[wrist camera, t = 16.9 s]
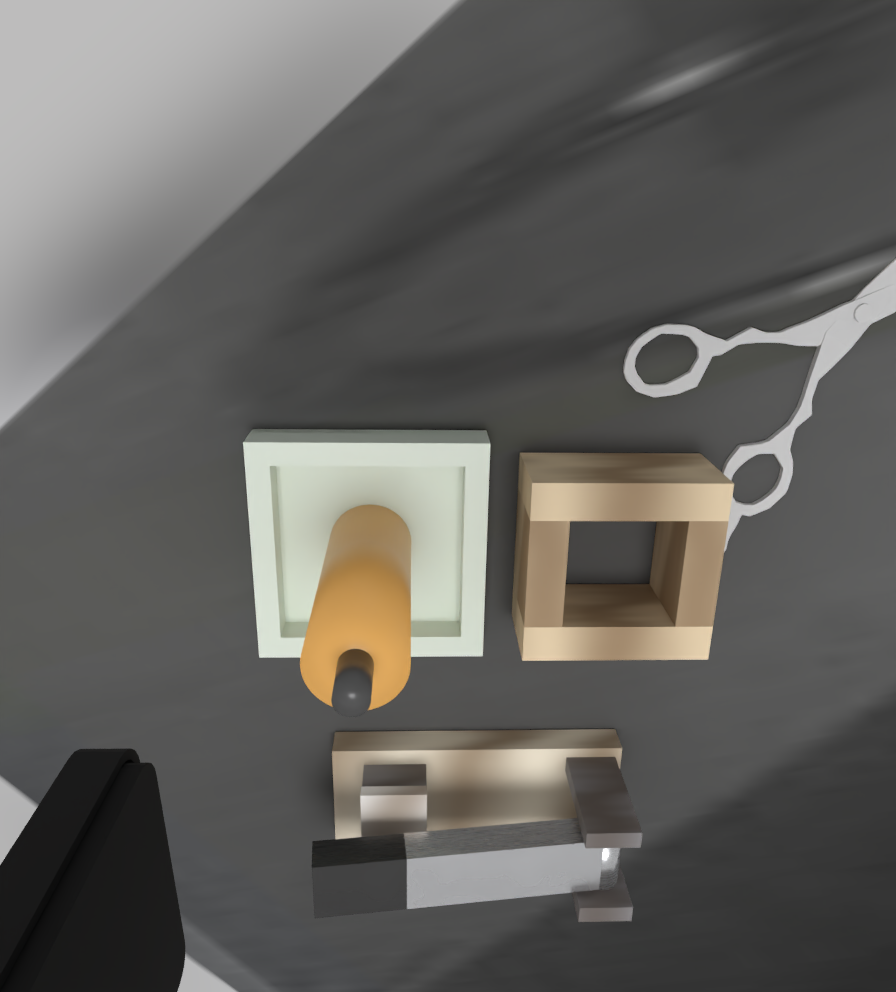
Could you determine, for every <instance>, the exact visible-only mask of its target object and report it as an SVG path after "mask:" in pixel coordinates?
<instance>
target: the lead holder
mask: <svg viewBox="0 0 896 992" xmlns="http://www.w3.org/2000/svg"><path fill="white" fill-rule="evenodd" d="M733 488H734V483H733V482H732V481H731V480H730V479H728V478H727V477H726V476H725V475H724V474H723V473H722V472H721V471H719V470H718V469H717V468H716V467H715V466H714V465H713V464H712V463H711V462H709V461H708V460H707V459H706V458H705V457H704V456H703V455H702V454H701V453H520V459H519V479H518V499H517V519H516V539H515V559H514V580H513V600H512V618H513V622H514V627H515V631H516V635H517V640H518V644H519V648H520V653H521V657H522V661H550V660H708V656H709V649H710V643H711V636H712V629H713V622H714V616H715V609H716V602H717V595H718V589H719V582H720V575H721V569H722V562H723V555H724V548H725V542H726V535H727V528H728V522H729V515H730V508H731V501H732V495H733ZM570 521H657V523H656V532H655V540H654V549H653V558H652V566H651V575H650V584H566V570H567V557H568V544H569V530H570Z"/></svg>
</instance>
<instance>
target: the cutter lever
mask: <svg viewBox="0 0 896 992" xmlns="http://www.w3.org/2000/svg"><path fill="white" fill-rule="evenodd" d="M620 852H621V848H585V845H584V841H583V837H582V833H581V829H580V826H579V822H578V818H572V819H560V820H549V821H538V822H526V823H515V824H504V825H492V826H481V827H470V828H458V829H447V830H436V831H424V832H413V833H402V834H391V835H379V836H368V837H357V838H345V839H334V840H323V841H313V846H312V879H313V897H314V916H315V918H323V917H333V916H343V915H353V914H363V913H373V912H382V911H392V910H402V909H412V908H422V907H432V906H442V905H452V904H462V903H471V902H481V901H491V900H501V899H511V898H521V897H531V896H541V895H551V894H561V893H570V892H580V891H590V890H608V889H610V888H612V887H614V886H615V885H616V883H617V878H618V869H619V860H620Z"/></svg>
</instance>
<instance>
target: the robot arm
mask: <svg viewBox="0 0 896 992" xmlns="http://www.w3.org/2000/svg"><path fill="white" fill-rule="evenodd" d="M184 960H185V939H184V933H183V928H182V922H181V916H180V910H179V904H178V898H177V893H176V887H175V881H174V875H173V869H172V863H171V858H170V852H169V846H168V840H167V834H166V828H165V823H164V817H163V811H162V805H161V799H160V793H159V788H158V782H157V776H156V771H155V768H154V766H153V765H152V763H140V760H139V757H138V754H137V753H136V751H135V750H133V749H79V750H77V751H75V752H74V753H73V754H72V755H71V757H70V758H69V759H68V761H67V762H66V764H65V765H64V767H63V768H62V770H61V772H60V773H59V775H58V776H57V778H56V779H55V781H54V782H53V784H52V786H51V787H50V789H49V790H48V792H47V793H46V795H45V796H44V798H43V800H42V801H41V803H40V804H39V806H38V807H37V809H36V811H35V812H34V814H33V815H32V817H31V818H30V820H29V822H28V823H27V825H26V826H25V828H24V829H23V831H22V832H21V834H20V836H19V837H18V839H17V840H16V842H15V843H14V845H13V846H12V848H11V849H10V851H9V853H8V854H7V856H6V857H5V859H4V861H3V862H2V864H1V865H0V992H177V991H178V987H179V984H180V981H181V977H182V972H183V968H184Z"/></svg>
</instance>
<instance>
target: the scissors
mask: <svg viewBox="0 0 896 992" xmlns="http://www.w3.org/2000/svg"><path fill="white" fill-rule="evenodd" d="M894 312H896V258H895V259H894V260H893V261H892V262H890V263H889V264H888V265H887V266H886V267H885V268H884V269H883V270H882V271H881V272H880V273H879V274H878V275H877V276H876V277H875V278H874V279H872V280H871V281H870V282H869V283H868V284H867V285H866V286H865V287H864V288H863V289H862V290H861V291H860V292H859V293H858V294H857V295H856V296H855V297H854V298H853V299H852V300H850V301H848V302H845V303H843V304H840V305H838V306H836V307H834V308H832V309H830V310H828V311H826V312H823V313H821V314H819V315H817V316H815V317H813V318H811V319H809V320H806V321H803V322H801V323H798V324H795V325H793V326H790V327H787V328H785V329H783V330H781V331H778V332H763V331H760V330H758V329H755V328H752V327H748V328H746V329H745V330H743V331H741V332H739V333H737V334H735V335H734V336H732V337H730V338H728V339H726V340H723V339H720V338H717V337H714V336H711V335H709V334H706V333H704V332H702V331H700V330H699V329H697V328H695V327H693V326H689V325H684V324H663V325H659V326H656V327H652V328H650V329H649V330H647V331H646V332H644V333H643V334H641V335H640V336H639V337H637V338H636V339H635V340H634V342H633V343H632V344H631V345H630V346H629V348H628V351H627V353H626V356H625V359H624V364H623V374H624V376H625V379H626V381H627V382H628V383H629V384H630V385H631V386H632V387H633V388H634V390H635V391H637V392H640V393H643V394H645V395H648V396H651V397H654V398H655V397H662V396H669V395H676V394H679V393H682V392H684V391H687V390H689V389H692V388H694V387H697V385H698V383H699V381H700V379H701V378H702V376H703V374H704V372H705V370H706V368H707V366H708V364H709V362H710V360H711V358H712V356H717V355H722V354H724V353H725V352H727V351H729V350H730V349H732V348H734V347H735V346H737V345H739V344H748V343H785V344H790V345H796V346H817V348H816V351H815V354H814V357H813V360H812V363H811V366H810V369H809V372H808V375H807V378H806V381H805V384H804V387H803V391H802V394H801V397H800V399H799V402H798V405H797V407H796V409H795V410H794V412H793V414H792V415H791V417H790V418H789V420H788V422H787V423H786V424H785V425H783V426H782V427H781V428H780V429H779V430H777V431H776V432H775V433H774V434H772V435H771V436H770V437H769V438H767V439H766V440H763V441H760V442H755V443H747V444H740V445H737V447H736V448H735V449H734V450H733V452H732V453H731V454H730V455H729V457H728V458H727V460H726V461H725V463H724V466H723V469H722V473H723V474H724V475H725V476H726V477H727V478H728V479H730V480H731V479H732V477H733V474H734V473H735V472H736V470H737V469H738V468H739V467H740V466H741V465H742V464H743V463H744V462H745V461H747V460H748V459H750V458H752V457H754V456H755V455H757V454H774V456H775V458H776V459H777V461H778V463H779V464H780V466H781V467H780V472H779V477H778V479H777V481H776V484H775V485H774V487H773V488H772V489H771V490H770V491H769V492H768V493H767V494H765V495H764V496H763V497H762V498H760V499H758V500H756V501H754V502H752V503H741V502H738V501H735V500H734V498H733V496H732V501H731V508H730V515H729V522H728V528H727V535H726V542H725V548H724V551H726V549H727V543H728V540H729V538H730V535H731V534H732V532H733V530H734V529H735V527H736V526H737V524H738V522H739V519H740V517H741V515H746V516H752V515H754V514H757V513H759V512H762V511H764V510H766V509H769V508H770V507H771V506H772V505H774V504H775V503H776V502H777V501H778V500H779V499H780V498H781V497H782V496H783V495H784V494H786V492H787V489H788V487H789V484H790V481H791V477H792V474H793V460H792V456H791V452H790V447H791V444H792V440H793V436H794V432H795V429H796V428H797V427H798V426H799V425H800V424H801V423H803V422H804V421H805V420H806V419H808V418H809V417H810V416H811V415H812V397H813V395H814V392H815V389H816V386H817V383H818V380H819V379H820V378H821V377H822V376H823V375H824V374H826V373H827V372H828V371H829V370H830V369H831V368H832V367H833V366H834V365H835V364H836V363H837V362H838V361H839V360H840V359H841V358H842V357H843V356H844V355H845V354H846V353H847V352H848V351H849V350H850V349H851V348H852V346H853V345H854V344H855V343H856V341H857V340H858V339H859V338H860V337H861V335H862V334H863V333H864V332H865V330H866V329H867V328H868V327H869V325H870V324H872V323H874V322H876V321H878V320H880V319H882V318H884V317H886V316H888V315H890V314H892V313H894ZM659 334H682V335H685V336H688V337H689V338H690V339H691V341H692V342H693V343H694V344H695V346H696V347H697V357H696V359H695V360H694V362H693V364H692V366H691V367H690V369H689V371H688V372H686V373H684V374H682V375H681V376H679V377H677V378H675V379H673V380H671V381H669V382H667V383H661V384H646V383H644V382H643V381H642V380H641V378H640V377H639V376H638V374H637V371H636V369H635V359H636V356H637V354H638V353H639V351H640V349H641V347H642V346H644V345H645V344H646V343H648V342H649V341H650V340H652V339H653V338H655V337H656V336H658V335H659Z"/></svg>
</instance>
